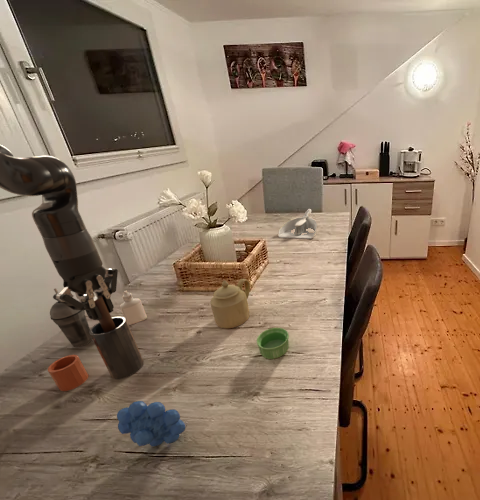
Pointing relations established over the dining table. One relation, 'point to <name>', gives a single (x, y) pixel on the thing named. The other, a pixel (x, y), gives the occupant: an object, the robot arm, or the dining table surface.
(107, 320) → the brown wooden rod
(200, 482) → the dining table surface
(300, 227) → the dustpan and brush
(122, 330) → the dark grey tumbler
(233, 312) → the sugar bowl
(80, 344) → the beverage cup
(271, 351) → the ramekin
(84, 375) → the brush holder
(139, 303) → the eye dropper bottle
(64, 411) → the dining table surface
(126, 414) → the grapes
